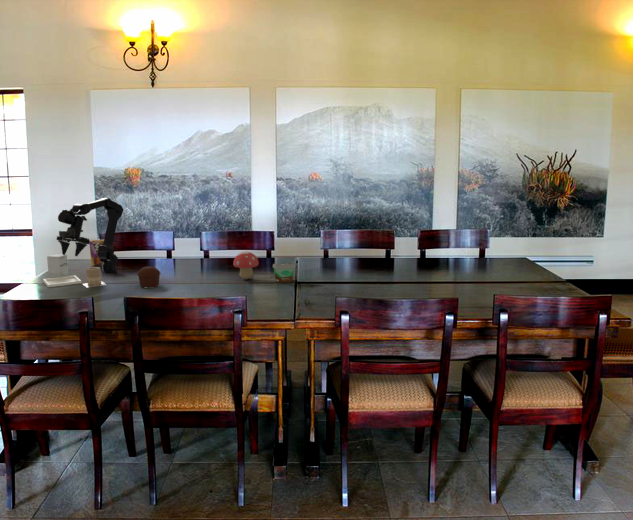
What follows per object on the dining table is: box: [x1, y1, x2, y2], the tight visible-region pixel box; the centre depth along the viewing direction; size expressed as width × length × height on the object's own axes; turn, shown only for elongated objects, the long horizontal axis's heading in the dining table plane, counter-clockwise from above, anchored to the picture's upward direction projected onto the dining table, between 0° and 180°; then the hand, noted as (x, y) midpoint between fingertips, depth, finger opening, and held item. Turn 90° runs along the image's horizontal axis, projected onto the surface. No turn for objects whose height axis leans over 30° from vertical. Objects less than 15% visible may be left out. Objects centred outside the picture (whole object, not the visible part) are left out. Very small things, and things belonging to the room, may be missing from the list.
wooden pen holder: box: [86, 266, 102, 287], centre depth 295 cm, size 6×6×8 cm
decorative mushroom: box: [233, 251, 260, 280], centre depth 307 cm, size 13×13×15 cm
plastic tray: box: [42, 274, 83, 288], centre depth 300 cm, size 16×16×2 cm
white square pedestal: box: [82, 280, 107, 288], centre depth 296 cm, size 10×10×6 cm
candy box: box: [89, 239, 104, 267], centre depth 348 cm, size 9×4×15 cm, turn 105°
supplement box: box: [46, 253, 69, 278], centre depth 313 cm, size 7×7×13 cm
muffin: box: [136, 266, 161, 288], centre depth 293 cm, size 12×11×10 cm
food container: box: [272, 261, 296, 284], centre depth 300 cm, size 12×6×10 cm, turn 117°
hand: (69, 255), depth 303 cm, fingers open, 9 cm apart
